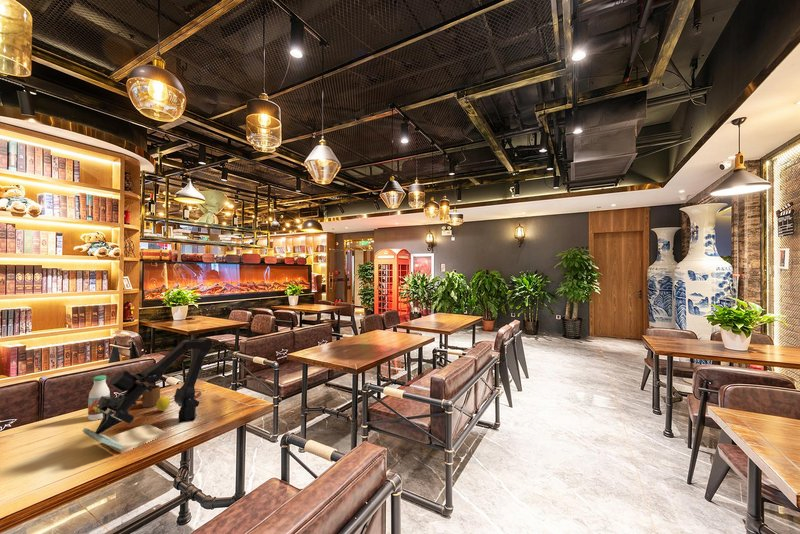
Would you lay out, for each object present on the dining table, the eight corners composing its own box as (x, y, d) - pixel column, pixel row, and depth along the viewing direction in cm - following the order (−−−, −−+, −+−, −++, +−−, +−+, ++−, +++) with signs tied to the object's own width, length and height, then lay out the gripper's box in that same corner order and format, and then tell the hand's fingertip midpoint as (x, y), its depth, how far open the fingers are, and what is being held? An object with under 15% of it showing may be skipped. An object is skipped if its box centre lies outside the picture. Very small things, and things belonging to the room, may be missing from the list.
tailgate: (105, 435, 134) (85, 427, 129) (123, 445, 127) (102, 437, 121) (102, 439, 133) (81, 431, 128) (120, 449, 126) (98, 442, 120)
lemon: (160, 409, 166) (161, 393, 166) (171, 409, 167) (172, 393, 167) (153, 413, 161) (153, 398, 161) (165, 413, 161) (165, 397, 161)
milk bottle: (84, 419, 154) (85, 377, 154) (104, 412, 161) (105, 373, 162) (93, 422, 151) (94, 380, 151) (112, 415, 158) (113, 375, 159)
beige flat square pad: (147, 426, 148) (147, 423, 148) (165, 435, 140) (166, 432, 140) (103, 442, 134) (103, 439, 134) (120, 453, 126) (120, 449, 126)
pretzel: (172, 401, 177) (172, 394, 177) (184, 393, 188) (184, 387, 188) (194, 400, 178) (194, 394, 178) (205, 393, 189) (205, 387, 189)
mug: (136, 412, 162) (137, 394, 162) (128, 409, 165) (129, 391, 165) (162, 403, 173) (163, 386, 173) (154, 401, 176) (155, 384, 176)
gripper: (104, 383, 135) (67, 420, 125) (125, 391, 126) (87, 431, 116) (126, 395, 142) (93, 431, 132) (147, 404, 133) (113, 443, 123)
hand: (96, 434), depth 125 cm, fingers closed, pressing on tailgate
